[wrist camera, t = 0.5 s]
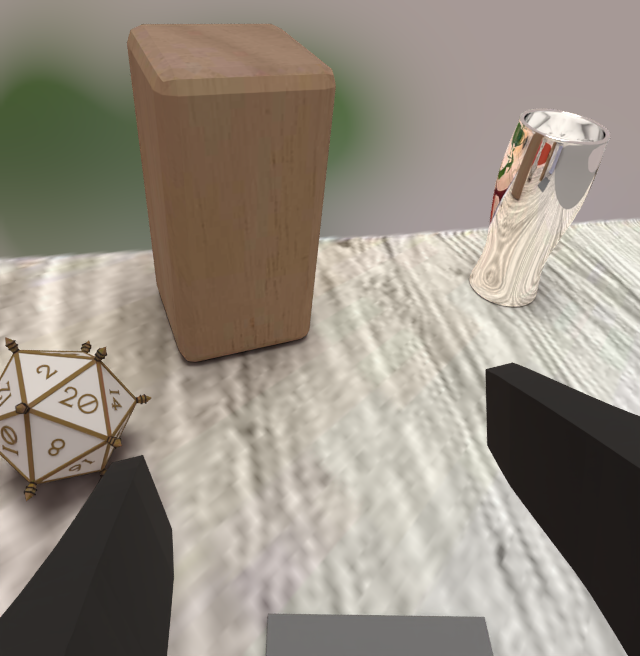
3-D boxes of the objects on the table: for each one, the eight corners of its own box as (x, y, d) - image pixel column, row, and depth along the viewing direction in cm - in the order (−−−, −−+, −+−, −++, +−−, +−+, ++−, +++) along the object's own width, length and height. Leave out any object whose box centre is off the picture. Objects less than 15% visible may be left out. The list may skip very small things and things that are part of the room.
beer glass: (469, 305, 48) (527, 137, 38) (460, 260, 54) (509, 102, 44) (548, 315, 48) (627, 149, 38) (531, 269, 54) (597, 113, 44)
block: (269, 268, 50) (280, 19, 37) (312, 341, 43) (344, 69, 30) (155, 287, 46) (122, 19, 33) (183, 370, 39) (155, 76, 26)
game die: (112, 470, 37) (194, 361, 34) (55, 565, 29) (155, 434, 26) (-11, 397, 35) (65, 275, 32) (-108, 477, 27) (-19, 325, 25)
